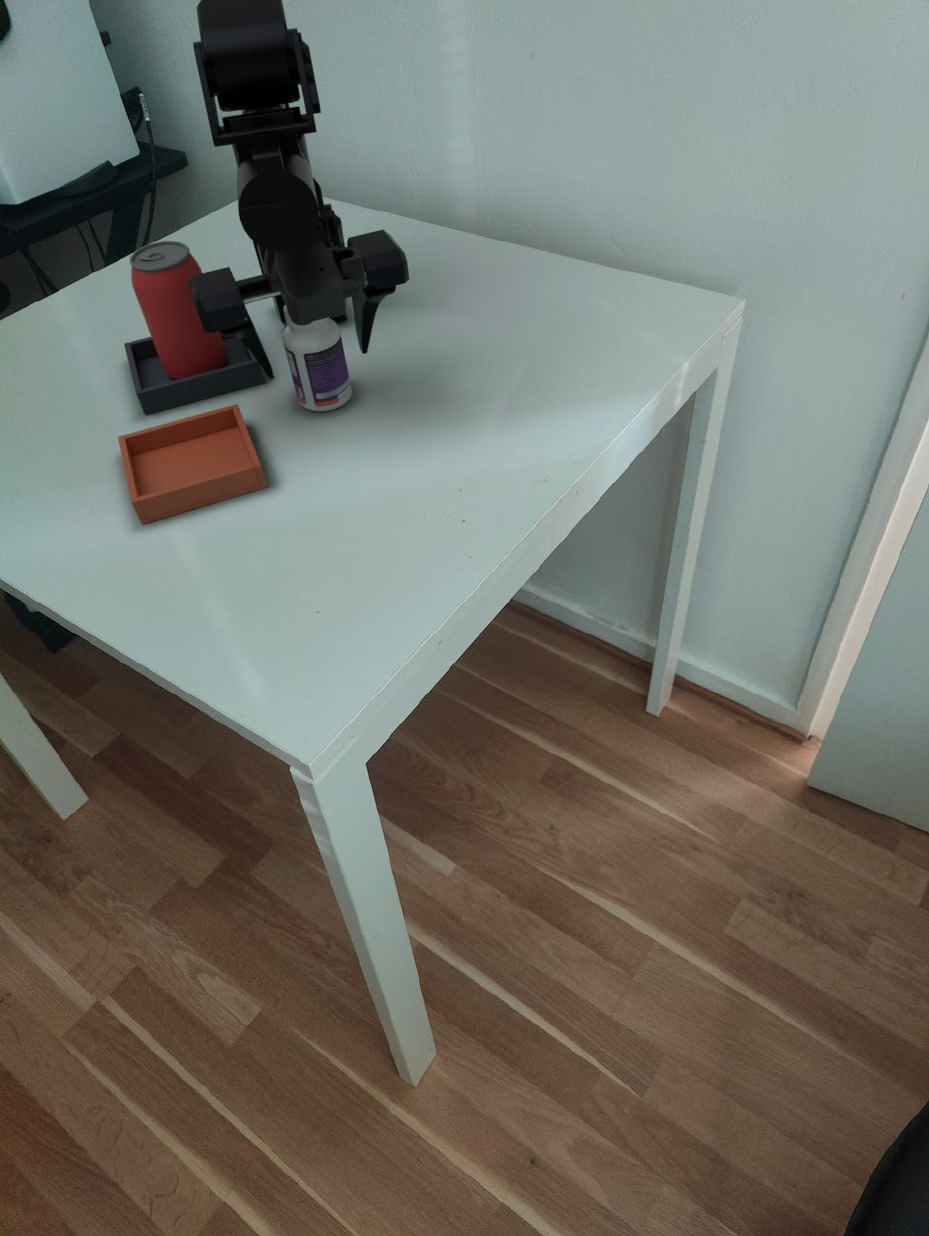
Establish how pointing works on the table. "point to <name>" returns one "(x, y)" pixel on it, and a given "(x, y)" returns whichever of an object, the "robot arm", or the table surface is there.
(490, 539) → the table surface
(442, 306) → the table surface
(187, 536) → the table surface
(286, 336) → the pill bottle
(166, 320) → the beer can
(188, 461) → the tray
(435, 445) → the table surface
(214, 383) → the can tray
